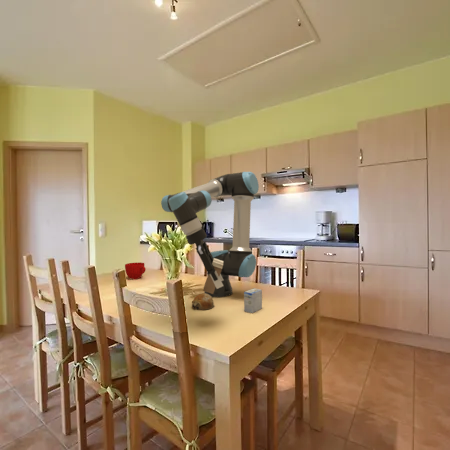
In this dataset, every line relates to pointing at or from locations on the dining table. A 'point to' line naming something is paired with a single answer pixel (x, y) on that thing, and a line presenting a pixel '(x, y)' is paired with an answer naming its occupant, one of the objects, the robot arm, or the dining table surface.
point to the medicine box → (252, 300)
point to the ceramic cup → (134, 270)
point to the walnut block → (209, 282)
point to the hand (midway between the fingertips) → (220, 284)
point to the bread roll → (203, 302)
